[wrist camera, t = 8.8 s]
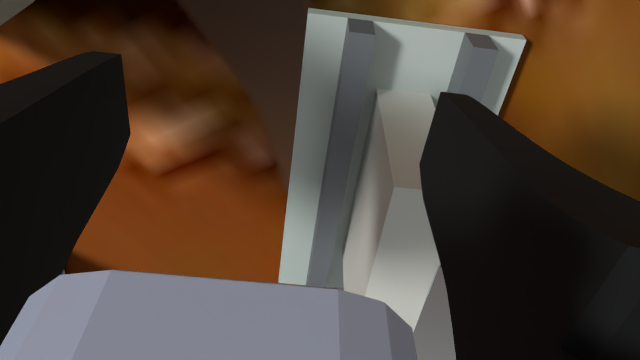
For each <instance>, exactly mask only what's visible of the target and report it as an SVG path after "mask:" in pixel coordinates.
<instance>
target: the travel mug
mask: <svg viewBox="0 0 640 360" xmlns="http://www.w3.org/2000/svg"><path fill="white" fill-rule="evenodd" d="M34 1H35V0H0V26H1V25H2V24H4V23H5V22H6V21H8V20H9V19H11V18H12V17H13V16H15V15H16V14H18V13H19V12H20V11H22V10H23V9H25V8H26V7H27V6H29V5H30V4H31V3H33V2H34Z"/></svg>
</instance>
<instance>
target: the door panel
mask: <svg viewBox="0 0 640 360" xmlns="http://www.w3.org/2000/svg"><path fill="white" fill-rule="evenodd" d="M434 112H435V107H434V104H433V101H432V98H431V95H430V94H423V93H414V92H405V91H397V90H388V89H379V88H376V92H375V97H374V101H373V106H372V111H371V116H370V120H369V125H368V130H367V135H366V140H365V144H364V149H363V154H362V159H361V163H360V168H359V173H358V178H357V182H356V187H355V192H354V197H353V201H352V206H351V211H350V216H349V220H348V225H347V230H346V235H345V240H344V244H343V249H342V258H343V282H344V291H347V292H351V293H354V294H358V295H361V296H365V297H369V298H372V299H376V300H379V301H382V302H385V303H386V304H387V305H388V306H389V307H390V308H391V309H392V310H393V311H394V312H396V313H397V314H398V315H399V316H400V317H401V318H402V319H403V320H404V321H405V322H406V323H407V324H408V325H410V326H411V327H412V330H413V332H414V329H415V326H416V323H417V321H418V318H419V316H420V313H421V310H422V308H423V305H424V303H425V300H426V297H427V295H428V292H429V290H430V287H431V284H432V282H433V279H434V276H435V274H436V271H437V268H438V266H439V263H440V260H439V256H438V253H437V249H436V245H435V242H434V238H433V235H432V231H431V227H430V224H429V220H428V216H427V212H426V209H425V205H424V201H423V195H422V187H421V178H420V167H419V163H420V160H421V156H422V153H423V150H424V146H425V143H426V139H427V136H428V133H429V129H430V126H431V123H432V119H433V116H434Z"/></svg>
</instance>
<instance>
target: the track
mask: <svg viewBox="0 0 640 360" xmlns="http://www.w3.org/2000/svg"><path fill="white" fill-rule="evenodd" d="M526 41H527V40H526V39H525V38H524V36H523V35H521V34H513V33H505V32H497V31H489V30H481V29H473V28H465V27H457V26H449V25H441V24H433V23H425V22H417V21H409V20H401V19H393V18H385V17H377V16H369V15H361V14H353V13H345V12H337V11H329V10H321V9H313V8H308V16H307V25H306V34H305V43H304V52H303V62H302V70H301V80H300V90H299V98H298V107H297V116H296V125H295V134H294V144H293V153H292V162H291V171H290V180H289V189H288V198H287V208H286V217H285V226H284V235H283V244H282V253H281V262H280V271H279V282H278V283H287V284H299V285H306V286H313V287H324V288H326V287H334V288H344V282H343V258H342V249H343V244H344V240H345V235H346V230H347V225H348V220H349V216H350V211H351V206H352V201H353V197H354V192H355V187H356V182H357V178H358V173H359V168H360V163H361V159H362V154H363V149H364V144H365V140H366V135H367V130H368V125H369V120H370V116H371V111H372V106H373V101H374V97H375V92H376V88H379V89H388V90H397V91H405V92H414V93H423V94H430V95H431V98H432V101H433V104H434V107H435V109H436V106H437V102H438V99H439V96H440V92H449V93H457V94H466V95H468V96H470V97H472V98H474V99H475V100H477V101H478V102H480V103H481V104H483V105H484V106H485V107H487V108H488V109H490V110H491V111H492V112H493V113H495V114H496V115H497V116H498V114H499V111H500V108H501V106H502V103H503V100H504V98H505V95H506V93H507V90H508V87H509V85H510V82H511V80H512V77H513V74H514V72H515V69H516V67H517V64H518V61H519V59H520V56H521V54H522V51H523V48H524V46H525V43H526ZM440 265H441V263H439V266H438V268H437V271H436V274H435V276H434V279H433V282H432V284H431V287H430V290H429V292H428V295H429V293H430V291H431V288H432V286H433V283H434V280H435V278H436V275H437V273H438V270H439V267H440ZM428 295H427V296H428Z"/></svg>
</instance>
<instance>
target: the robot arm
mask: <svg viewBox="0 0 640 360" xmlns="http://www.w3.org/2000/svg"><path fill="white" fill-rule="evenodd" d="M129 137H130V125H129V117H128V109H127V100H126V92H125V84H124V75H123V67H122V58H121V55H120V54H111V53H103V52H94V51H92V52H87V53H83V54H80V55H77V56H74V57H71V58H68V59H65V60H63V61H60V62H58V63H55V64H52V65H50V66H47V67H45V68H42V69H40V70H37V71H34V72H32V73H29V74H27V75H24V76H22V77H19V78H16V79H13V80H11V81H8V82H5V83H2V84H0V360H417V354H416V348H415V342H414V336H413V330H412V327H411V326H410V325H408V324H407V323H406V322H405V321H404V320H403V319H402V318H401V317H400V316H399V315H398V314H397V313H396V312H394V311H393V310H392V309H391V308H390V307H389V306H388V305H387V304H386V303H385V302H382V301H379V300H376V299H372V298H369V297H365V296H361V295H358V294H354V293H351V292H347V291H343V290H340V289H336V288H324V287H313V286H301V285H290V284H278V283H267V282H255V281H244V280H232V279H221V278H209V277H197V276H186V275H174V274H163V273H151V272H140V271H128V270H117V269H115V270H105V271H94V272H84V273H74V274H65V271H64V268H65V265H66V263H67V260H68V258H69V256H70V254H71V252H72V250H73V248H74V246H75V244H76V242H77V240H78V238H79V236H80V235H81V233H82V231H83V229H84V228H85V226H86V224H87V222H88V221H89V219H90V217H91V215H92V214H93V212H94V210H95V208H96V207H97V205H98V203H99V201H100V200H101V198H102V196H103V194H104V193H105V191H106V189H107V187H108V185H109V184H110V182H111V180H112V178H113V176H114V175H115V173H116V171H117V169H118V167H119V164H120V162H121V159H122V157H123V154H124V151H125V148H126V145H127V143H128V140H129ZM419 167H420V178H421V187H422V195H423V201H424V205H425V209H426V212H427V216H428V220H429V224H430V227H431V231H432V235H433V238H434V242H435V245H436V249H437V253H438V256H439V260H440V263H441V267H442V270H443V274H444V279H445V283H446V288H447V294H448V301H449V307H450V314H451V321H452V328H453V336H454V344H455V352H456V360H640V201H637V200H635V199H633V198H631V197H629V196H626V195H624V194H622V193H620V192H618V191H616V190H614V189H612V188H610V187H608V186H605V185H603V184H602V183H600V182H598V181H596V180H594V179H592V178H590V177H589V176H587V175H585V174H583V173H581V172H580V171H578V170H576V169H574V168H572V167H571V166H569V165H567V164H566V163H564V162H563V161H561V160H559V159H558V158H556V157H555V156H553V155H552V154H550V153H549V152H547V151H546V150H544V149H543V148H541V147H540V146H538V145H537V144H535V143H534V142H533V141H531V140H530V139H528V138H527V137H525V136H524V135H523V134H521V133H520V132H519V131H517V130H516V129H515V128H513V127H512V126H511V125H509V124H508V123H507V122H505V121H504V120H503V119H501V118H500V117H499V116H497V115H496V114H495V113H493V112H492V111H491V110H490V109H488V108H487V107H485V106H484V105H483V104H481V103H480V102H478V101H477V100H475V99H474V98H472V97H470V96H468V95H466V94H457V93H449V92H440V96H439V99H438V102H437V106H436V109H435V112H434V116H433V119H432V123H431V126H430V129H429V133H428V136H427V139H426V143H425V146H424V150H423V153H422V156H421V160H420V163H419Z"/></svg>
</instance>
